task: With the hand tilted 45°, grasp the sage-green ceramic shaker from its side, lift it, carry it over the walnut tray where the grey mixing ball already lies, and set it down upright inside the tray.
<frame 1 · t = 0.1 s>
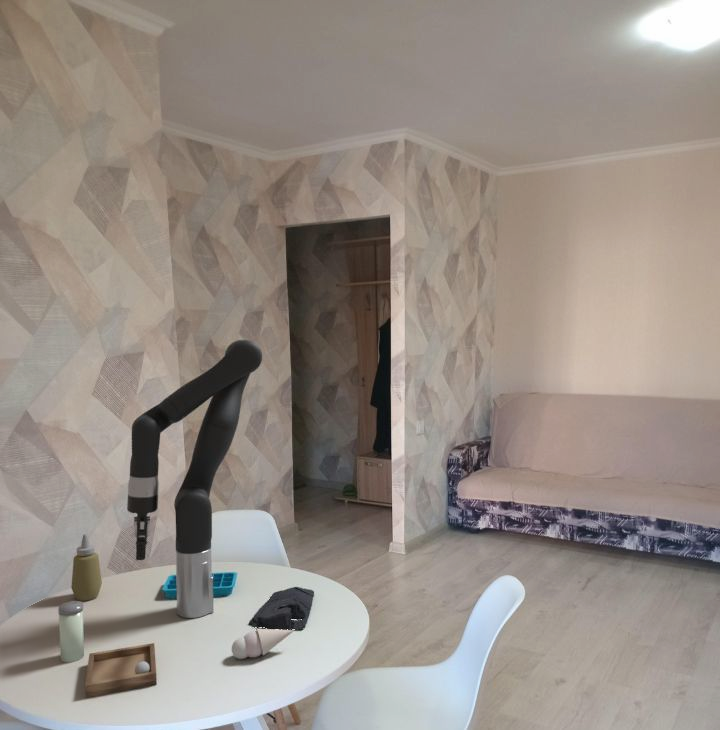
hand: (140, 554, 166), 17 cm above the table, tool pointing down, fingers open, 8 cm apart
ice cube tray: (201, 591, 186), on the table
squeeze bottle: (87, 597, 181), on the table
dark slate chunk: (286, 614, 171), on the table
tray: (122, 674, 140), on the table
ball: (142, 669, 137), point 2 cm above the table, touching tray
ice cream cone: (263, 654, 149), on the table
shaker: (72, 656, 148), on the table
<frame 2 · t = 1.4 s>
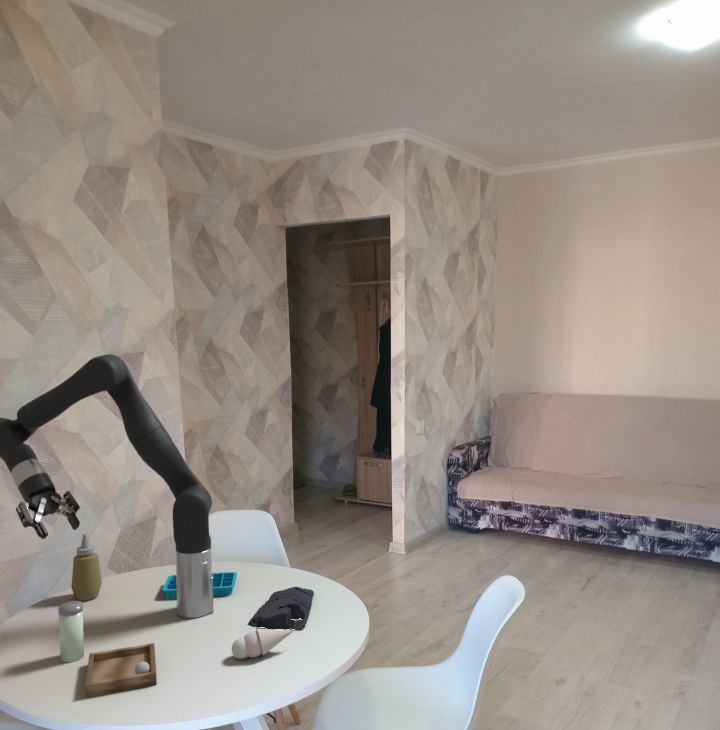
hand: (61, 532, 158), 26 cm above the table, tool tilted 45°, fingers open, 8 cm apart
nothing on the table moved.
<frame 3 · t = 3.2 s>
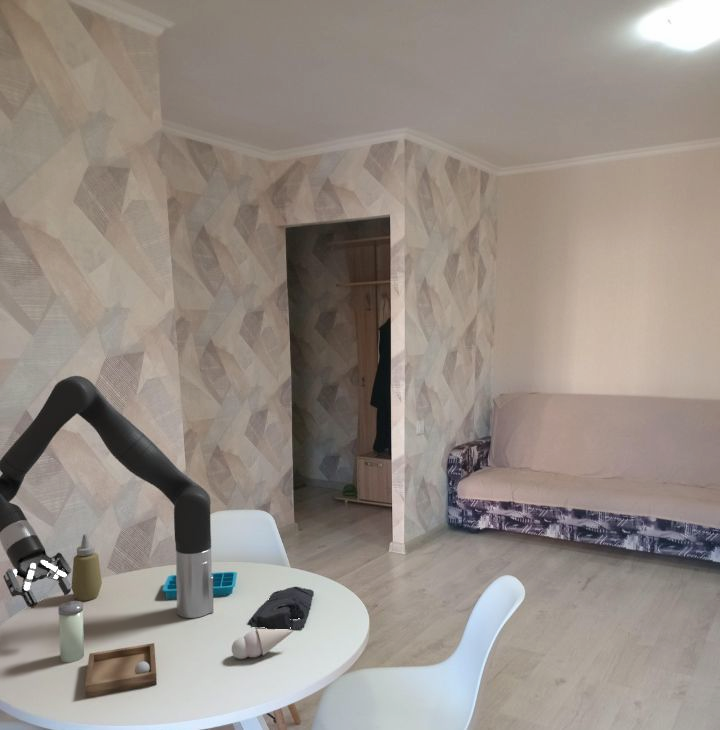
hand: (52, 599, 151), 12 cm above the table, tool tilted 45°, fingers open, 8 cm apart
nothing on the table moved.
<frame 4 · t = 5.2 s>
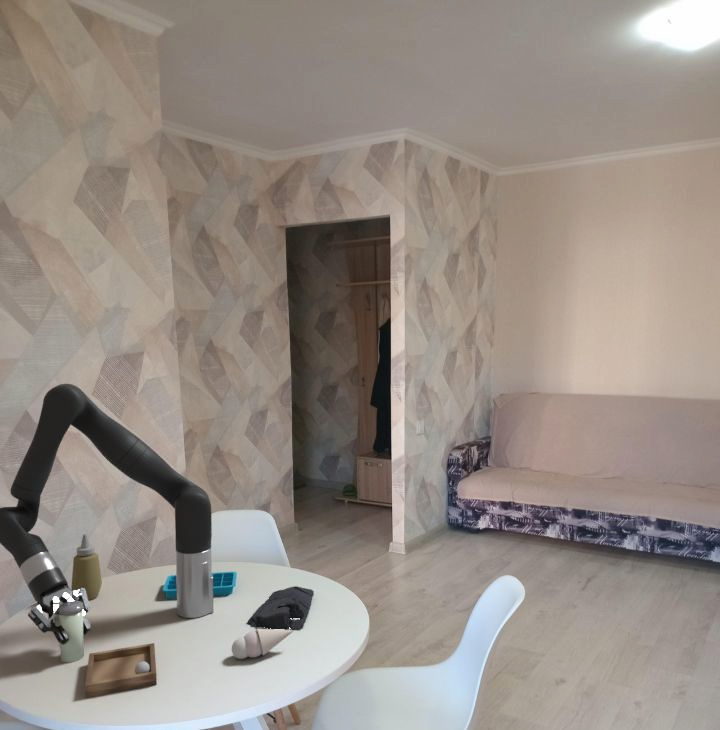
hand: (76, 637, 146), 5 cm above the table, tool tilted 45°, fingers closed on shaker, 5 cm apart
shaker: (72, 656, 148), on the table, touching gripper
everything else where it was.
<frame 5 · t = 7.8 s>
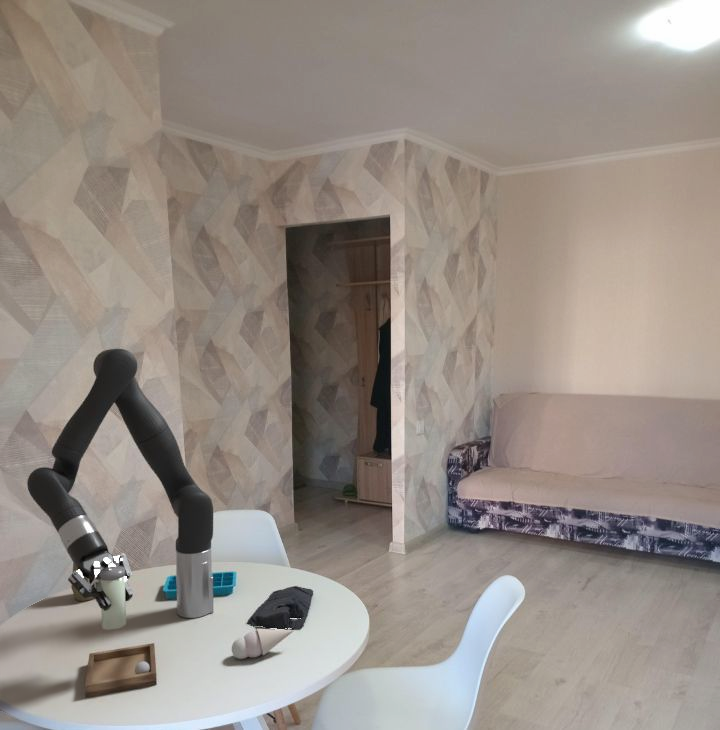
hand: (119, 603, 139), 16 cm above the table, tool tilted 45°, fingers closed on shaker, 5 cm apart
shaker: (114, 624, 140), point 11 cm above the table, touching gripper
everything else where it was.
when the fingers open (8 cm above the table, at t = 10.1 s): shaker drops 1 cm, resting on tray.
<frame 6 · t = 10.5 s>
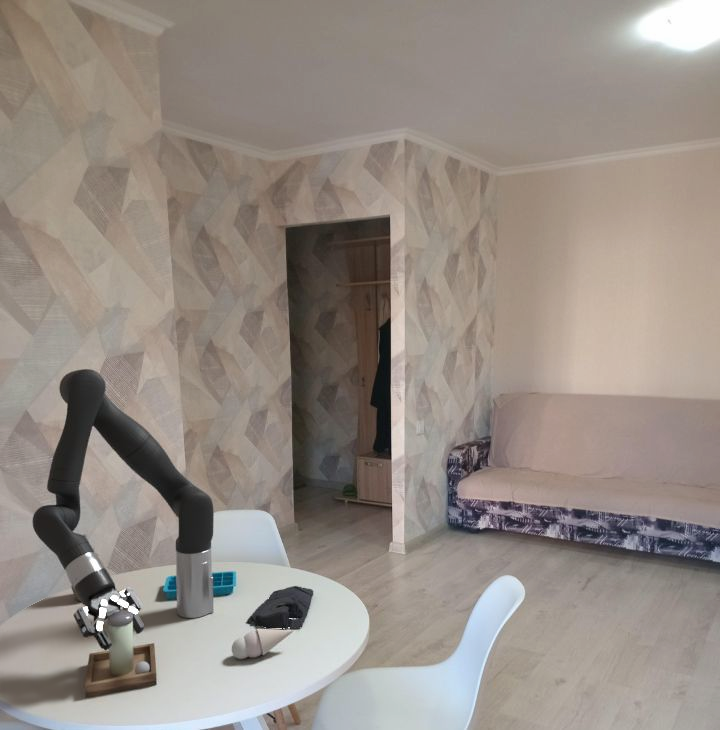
hand: (125, 639, 139), 8 cm above the table, tool tilted 45°, fingers open, 8 cm apart
shaker: (121, 669, 140), point 1 cm above the table, touching tray
everything else where it was.
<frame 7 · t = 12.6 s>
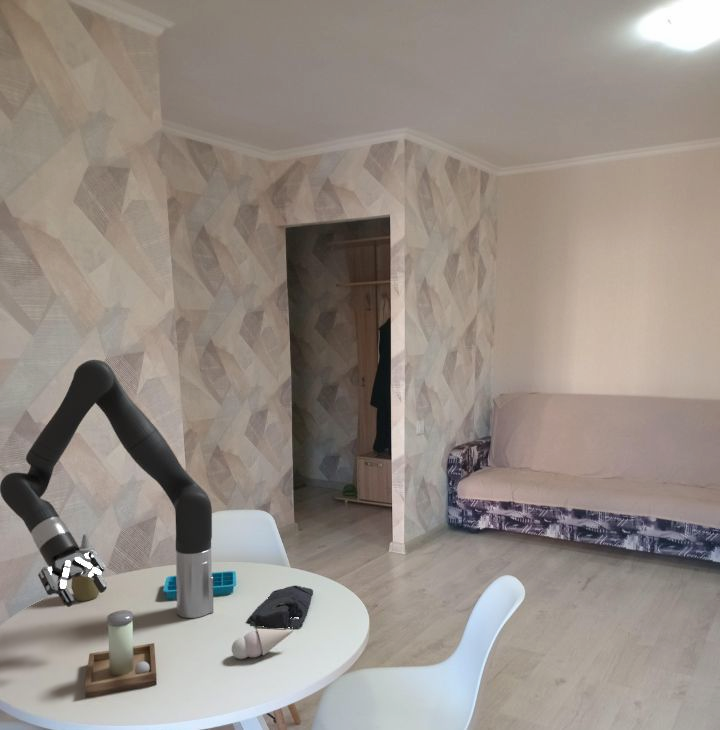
hand: (88, 597, 146), 14 cm above the table, tool tilted 45°, fingers open, 8 cm apart
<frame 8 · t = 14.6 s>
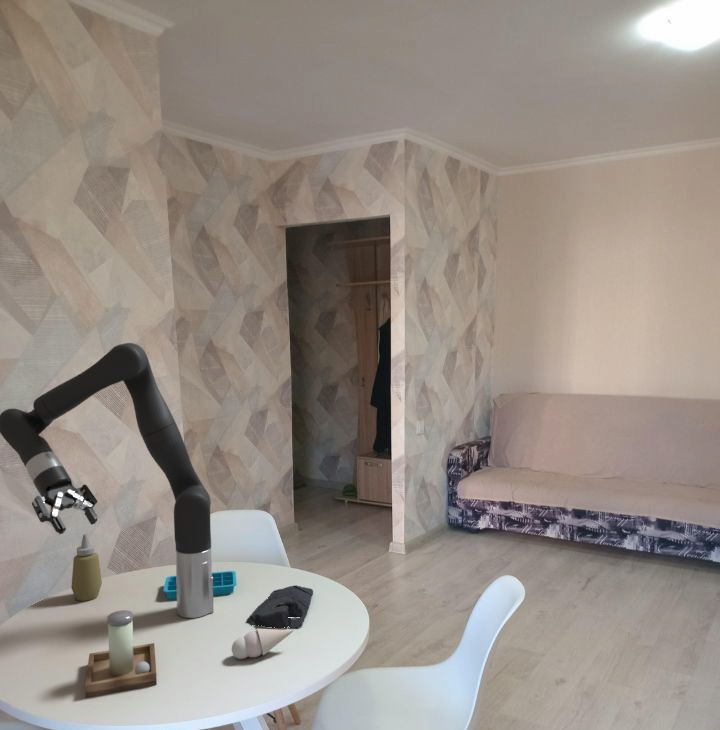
hand: (79, 527, 152), 29 cm above the table, tool tilted 45°, fingers open, 8 cm apart
at the end: shaker inside the target area on the tray (0.1 cm from its centre), point 1.0 cm above the tray's base; shaker tilted 0°; the gripper is holding nothing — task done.
